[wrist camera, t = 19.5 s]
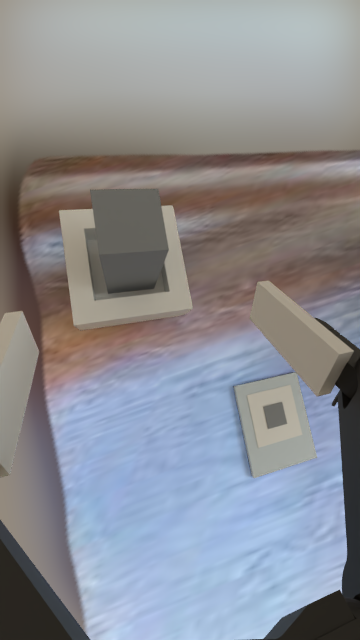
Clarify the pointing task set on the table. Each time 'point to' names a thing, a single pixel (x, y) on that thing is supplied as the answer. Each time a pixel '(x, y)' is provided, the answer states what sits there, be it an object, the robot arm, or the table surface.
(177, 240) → the socket base
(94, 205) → the charcoal pillar
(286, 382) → the card
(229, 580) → the table surface
